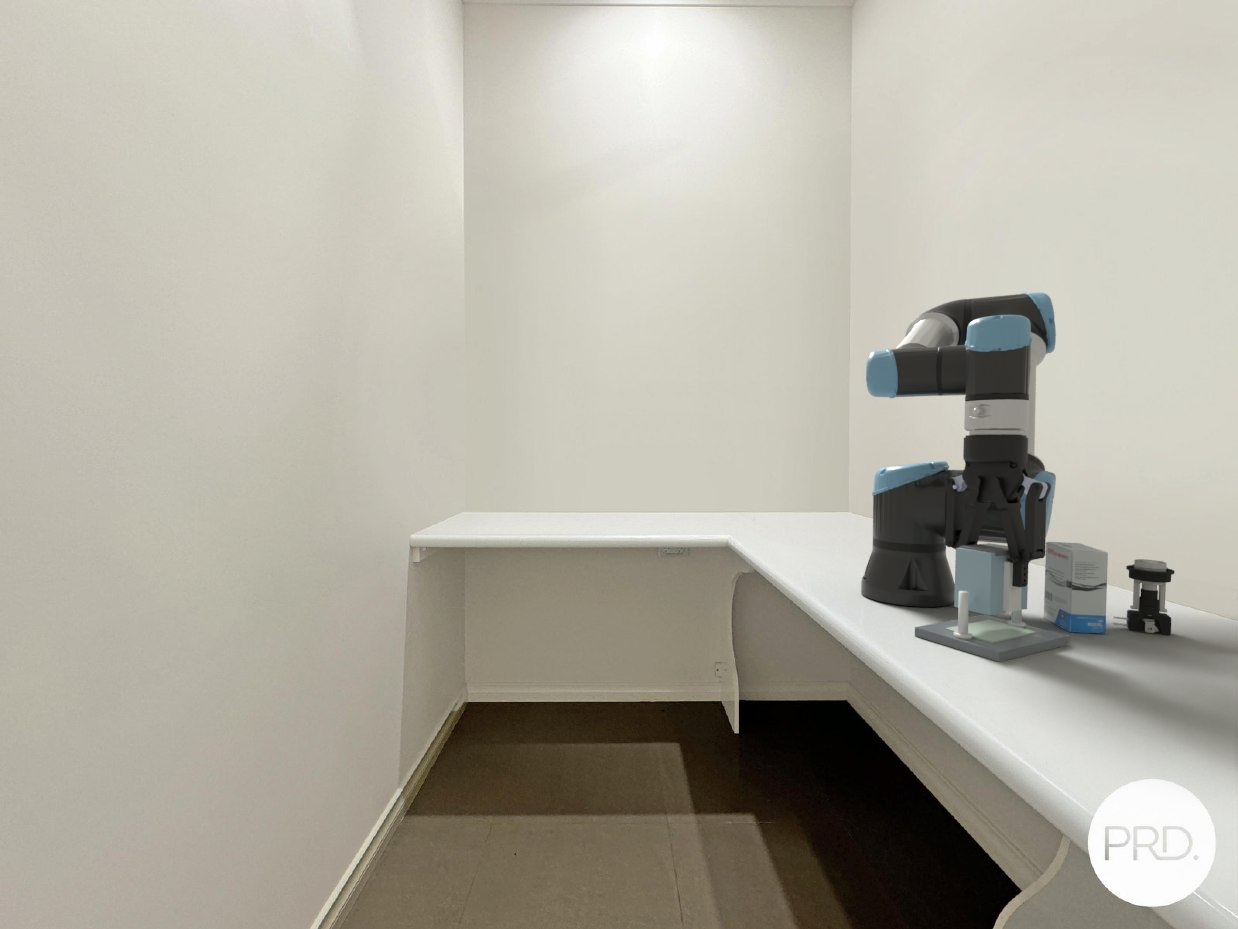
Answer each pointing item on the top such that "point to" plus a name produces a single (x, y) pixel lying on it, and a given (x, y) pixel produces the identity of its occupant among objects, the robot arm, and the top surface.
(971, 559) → the block
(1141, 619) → the push button
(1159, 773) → the top surface
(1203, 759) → the top surface
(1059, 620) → the ink box
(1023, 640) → the pin tray
